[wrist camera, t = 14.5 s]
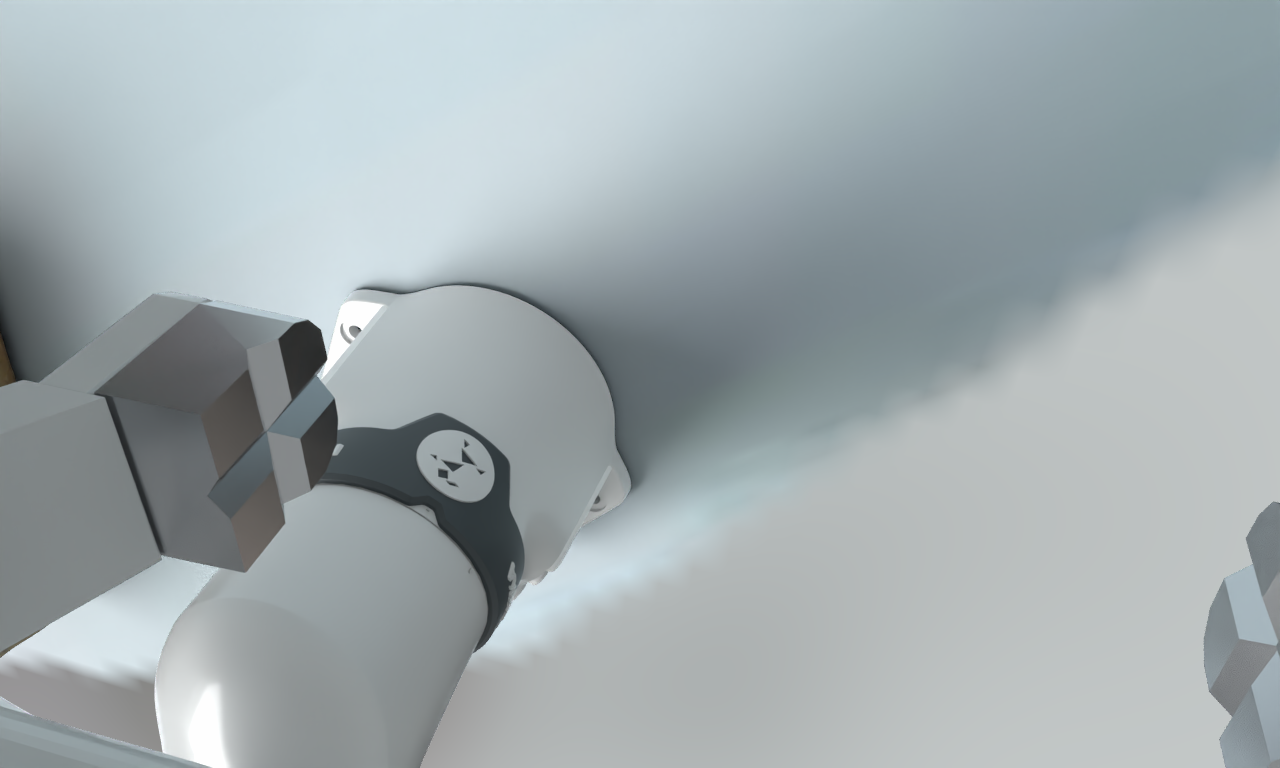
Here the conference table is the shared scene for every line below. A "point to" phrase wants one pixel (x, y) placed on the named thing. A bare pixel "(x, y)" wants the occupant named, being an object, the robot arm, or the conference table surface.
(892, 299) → the conference table surface
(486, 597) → the robot arm
